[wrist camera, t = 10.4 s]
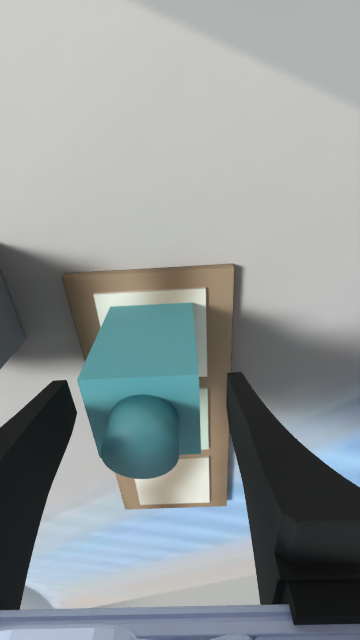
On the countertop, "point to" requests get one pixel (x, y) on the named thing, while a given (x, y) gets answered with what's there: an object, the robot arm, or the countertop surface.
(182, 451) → the pawn
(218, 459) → the board
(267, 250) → the countertop surface
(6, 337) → the grey cube
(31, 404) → the robot arm
